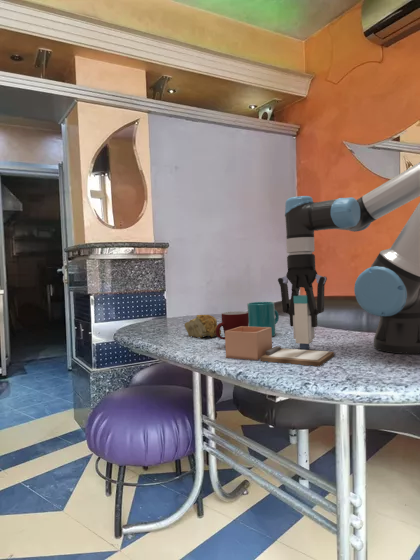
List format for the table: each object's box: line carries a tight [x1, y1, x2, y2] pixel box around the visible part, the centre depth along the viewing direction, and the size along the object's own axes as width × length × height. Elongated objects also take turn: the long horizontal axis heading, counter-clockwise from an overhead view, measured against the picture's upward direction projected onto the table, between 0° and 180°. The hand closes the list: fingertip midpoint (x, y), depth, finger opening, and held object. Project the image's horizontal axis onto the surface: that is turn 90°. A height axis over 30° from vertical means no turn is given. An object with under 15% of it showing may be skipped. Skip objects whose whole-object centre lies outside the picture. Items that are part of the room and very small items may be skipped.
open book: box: [259, 345, 335, 367], centre depth 103 cm, size 15×12×2 cm
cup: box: [246, 301, 279, 338], centre depth 139 cm, size 9×12×11 cm
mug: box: [216, 310, 249, 341], centre depth 122 cm, size 11×8×10 cm
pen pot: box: [224, 326, 273, 361], centre depth 109 cm, size 9×9×7 cm
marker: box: [293, 294, 314, 350], centre depth 113 cm, size 4×4×15 cm
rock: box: [184, 314, 222, 339], centre depth 143 cm, size 12×9×10 cm
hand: (304, 338), depth 113 cm, fingers closed on marker, 4 cm apart
